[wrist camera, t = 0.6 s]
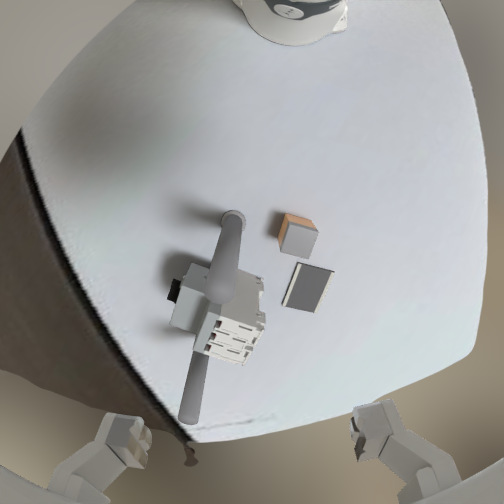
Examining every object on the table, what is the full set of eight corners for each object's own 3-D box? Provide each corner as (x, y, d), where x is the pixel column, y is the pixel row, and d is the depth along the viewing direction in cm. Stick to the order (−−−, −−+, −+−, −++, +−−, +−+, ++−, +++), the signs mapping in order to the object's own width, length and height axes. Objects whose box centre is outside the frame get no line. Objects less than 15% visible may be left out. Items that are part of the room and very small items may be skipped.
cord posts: (224, 207, 47) (202, 267, 27) (248, 214, 48) (244, 278, 27) (194, 335, 57) (173, 422, 37) (213, 339, 58) (199, 428, 38)
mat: (298, 262, 51) (298, 263, 50) (333, 271, 52) (334, 272, 51) (281, 304, 54) (282, 305, 54) (316, 311, 55) (316, 313, 54)
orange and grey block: (285, 213, 48) (289, 224, 42) (311, 220, 48) (318, 232, 42) (277, 238, 49) (280, 252, 44) (302, 244, 50) (308, 259, 44)
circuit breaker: (186, 249, 50) (163, 294, 36) (263, 278, 52) (266, 330, 38) (175, 284, 53) (152, 335, 39) (247, 310, 55) (245, 366, 41)
